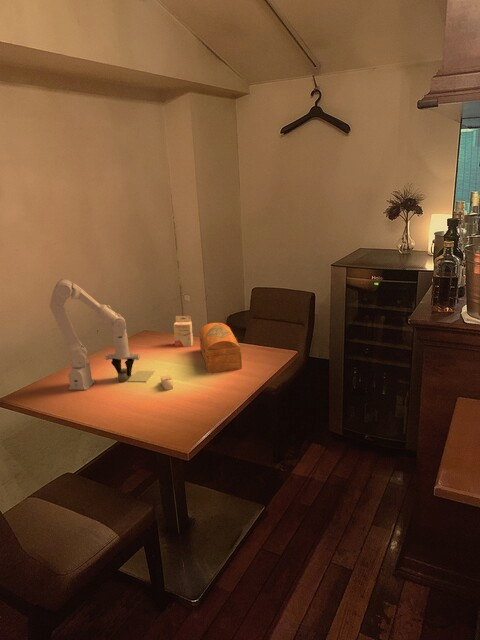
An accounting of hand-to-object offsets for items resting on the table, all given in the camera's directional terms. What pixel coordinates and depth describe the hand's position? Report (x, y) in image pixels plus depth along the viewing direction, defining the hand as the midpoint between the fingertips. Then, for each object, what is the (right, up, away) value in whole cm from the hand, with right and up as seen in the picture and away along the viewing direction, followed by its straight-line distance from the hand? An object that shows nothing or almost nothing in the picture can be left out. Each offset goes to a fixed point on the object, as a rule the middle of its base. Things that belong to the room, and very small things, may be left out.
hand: (124, 375), depth 199 cm
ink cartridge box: (+21, +11, +39) cm, 45 cm away
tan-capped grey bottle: (0, -1, 0) cm, 1 cm away
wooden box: (+40, +5, +18) cm, 44 cm away
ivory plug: (+19, -3, -9) cm, 22 cm away
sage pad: (+7, -1, +1) cm, 7 cm away
